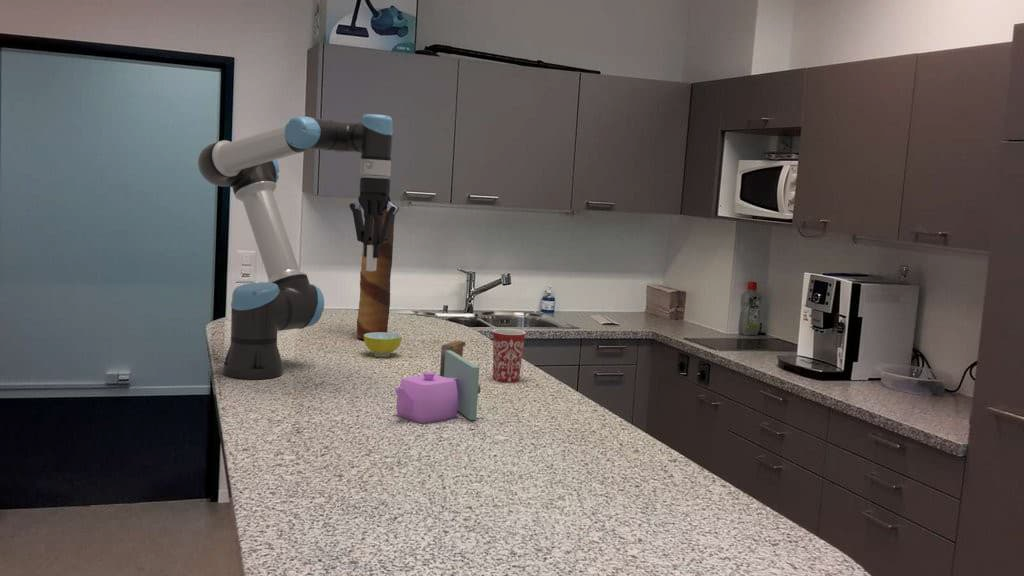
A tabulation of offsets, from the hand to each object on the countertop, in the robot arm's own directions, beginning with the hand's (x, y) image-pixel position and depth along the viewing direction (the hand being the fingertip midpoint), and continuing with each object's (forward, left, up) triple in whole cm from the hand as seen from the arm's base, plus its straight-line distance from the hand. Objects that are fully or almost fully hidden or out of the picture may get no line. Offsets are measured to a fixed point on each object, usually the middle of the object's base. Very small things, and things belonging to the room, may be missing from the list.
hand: (371, 270), depth 235 cm
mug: (+28, +28, -30) cm, 49 cm away
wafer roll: (-29, +59, -30) cm, 72 cm away
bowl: (-14, +36, -30) cm, 49 cm away
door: (+31, -11, -29) cm, 44 cm away
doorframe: (+23, +1, -29) cm, 37 cm away
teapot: (+26, -21, -30) cm, 45 cm away
